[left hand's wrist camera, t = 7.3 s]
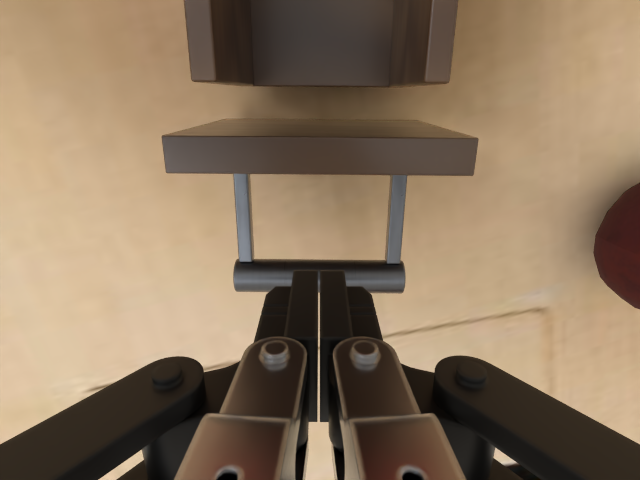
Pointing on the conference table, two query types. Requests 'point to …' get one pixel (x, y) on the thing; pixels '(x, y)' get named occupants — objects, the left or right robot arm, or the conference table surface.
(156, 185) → the conference table surface
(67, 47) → the conference table surface
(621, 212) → the dark maroon ball
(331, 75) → the drawer
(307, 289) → the left robot arm
